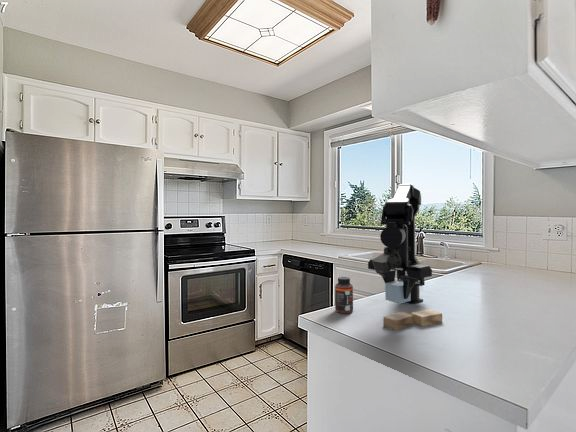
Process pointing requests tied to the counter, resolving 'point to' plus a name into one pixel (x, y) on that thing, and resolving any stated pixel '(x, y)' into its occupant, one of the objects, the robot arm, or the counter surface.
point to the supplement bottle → (344, 295)
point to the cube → (395, 292)
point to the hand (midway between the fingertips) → (398, 296)
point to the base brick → (398, 320)
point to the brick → (427, 317)
